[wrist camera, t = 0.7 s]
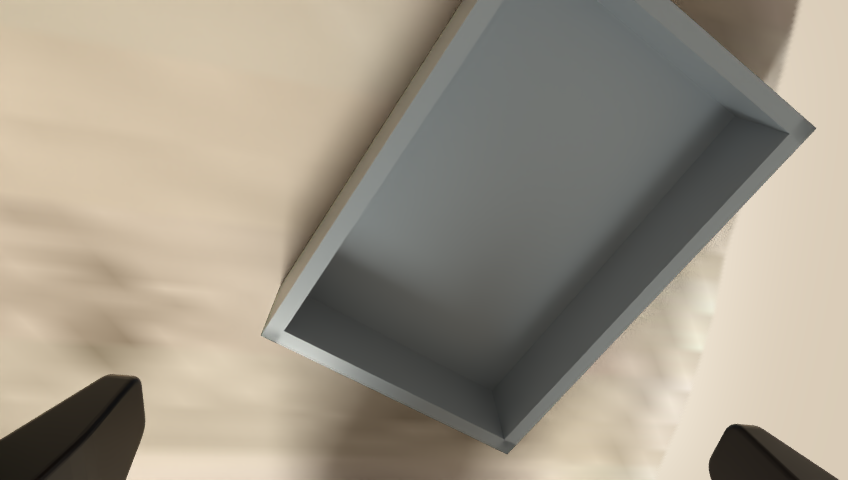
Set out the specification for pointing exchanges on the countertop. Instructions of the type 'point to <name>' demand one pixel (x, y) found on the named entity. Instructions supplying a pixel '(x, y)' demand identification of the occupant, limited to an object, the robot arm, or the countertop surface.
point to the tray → (529, 205)
